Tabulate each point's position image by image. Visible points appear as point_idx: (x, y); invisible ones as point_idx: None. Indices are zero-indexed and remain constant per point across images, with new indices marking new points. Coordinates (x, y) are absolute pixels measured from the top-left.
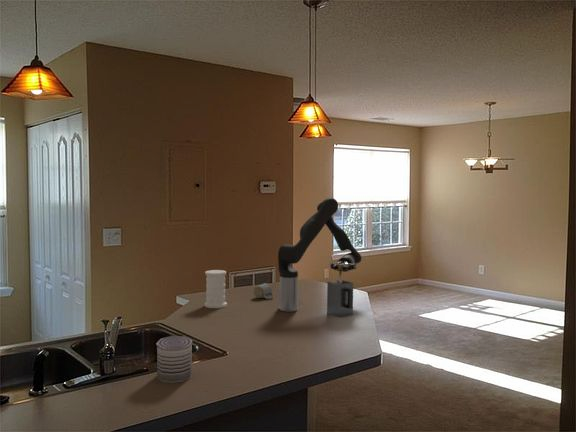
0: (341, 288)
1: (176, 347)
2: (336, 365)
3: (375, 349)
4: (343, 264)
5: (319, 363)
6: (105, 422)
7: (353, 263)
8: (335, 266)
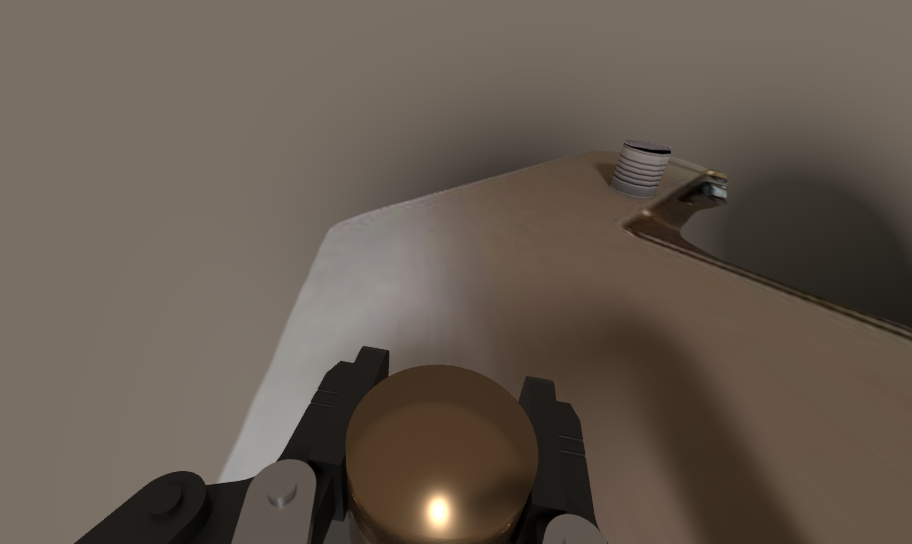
0: None
1: (633, 141)
2: (422, 198)
3: (327, 238)
4: (374, 441)
5: (452, 203)
6: (609, 153)
7: None
8: (527, 376)
